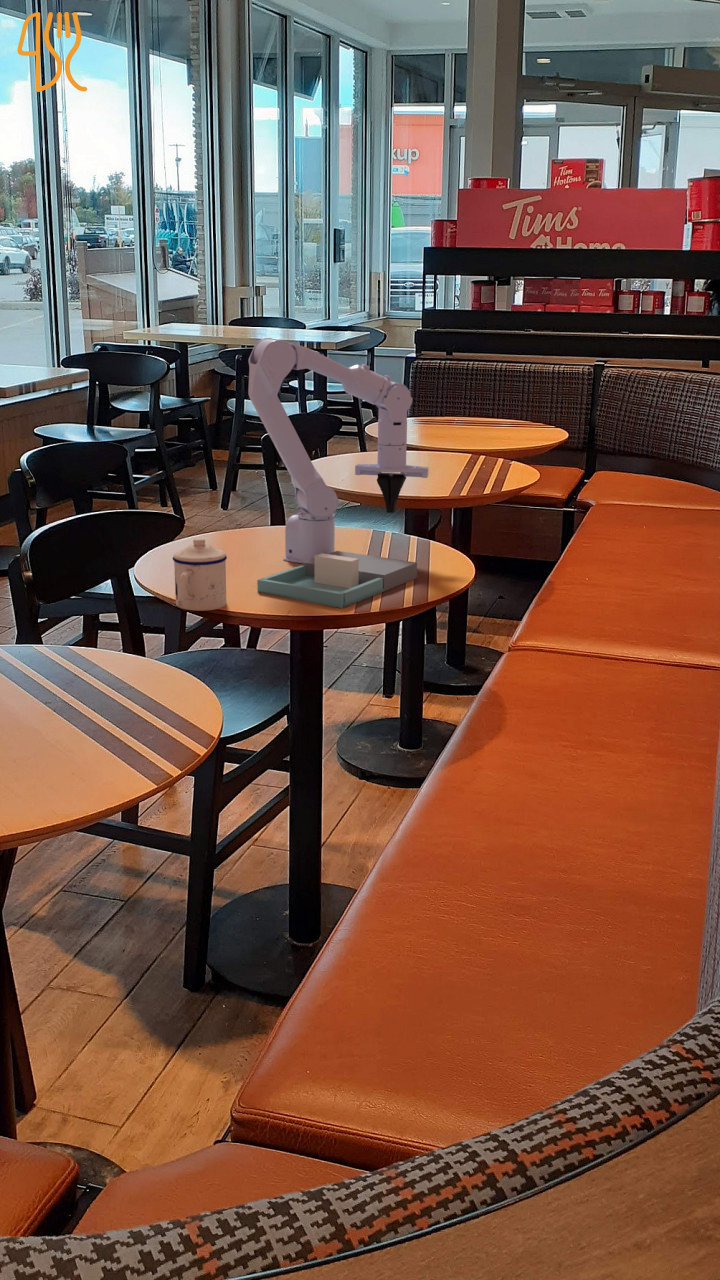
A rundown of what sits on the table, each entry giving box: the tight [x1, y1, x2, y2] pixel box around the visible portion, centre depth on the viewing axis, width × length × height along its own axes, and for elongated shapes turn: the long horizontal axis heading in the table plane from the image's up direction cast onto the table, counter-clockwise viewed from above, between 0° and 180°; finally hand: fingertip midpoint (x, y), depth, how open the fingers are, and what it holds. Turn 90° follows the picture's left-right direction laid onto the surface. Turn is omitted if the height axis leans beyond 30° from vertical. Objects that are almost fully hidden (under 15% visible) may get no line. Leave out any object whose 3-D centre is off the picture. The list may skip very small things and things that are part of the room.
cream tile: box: [314, 553, 359, 588], centre depth 208 cm, size 8×5×2 cm
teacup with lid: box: [172, 537, 228, 612], centre depth 193 cm, size 12×9×12 cm
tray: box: [256, 565, 385, 609], centre depth 205 cm, size 18×14×2 cm
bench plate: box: [301, 550, 418, 592], centre depth 215 cm, size 18×12×3 cm, turn 58°
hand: (390, 511), depth 229 cm, fingers closed
